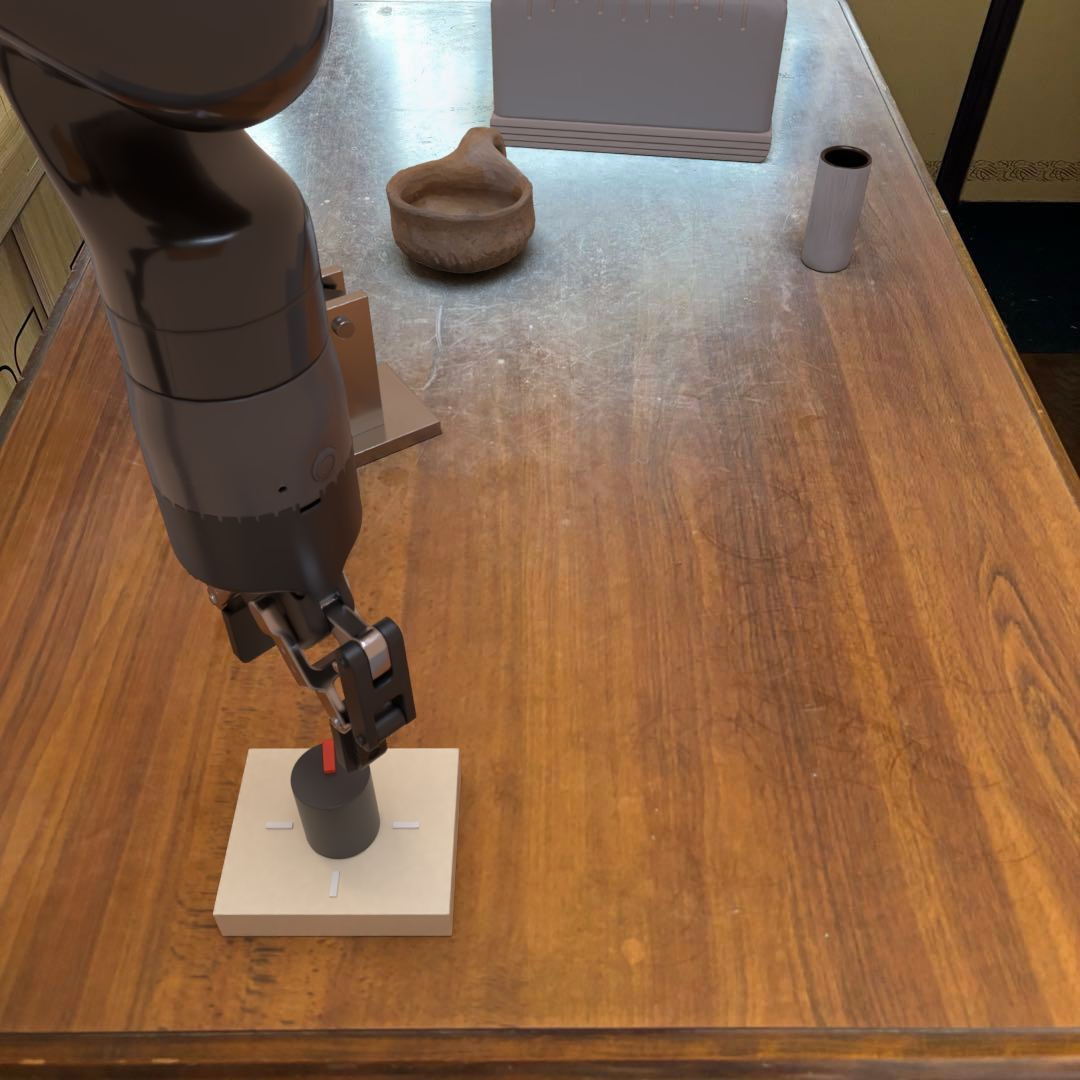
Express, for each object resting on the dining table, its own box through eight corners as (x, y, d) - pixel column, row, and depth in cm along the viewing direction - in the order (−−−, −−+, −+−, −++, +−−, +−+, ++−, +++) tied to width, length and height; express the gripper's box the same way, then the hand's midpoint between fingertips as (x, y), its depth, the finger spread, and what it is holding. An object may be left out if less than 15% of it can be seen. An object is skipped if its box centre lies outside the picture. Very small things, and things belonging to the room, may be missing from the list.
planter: (792, 262, 104) (811, 159, 97) (813, 242, 107) (833, 140, 99) (836, 278, 102) (859, 173, 95) (857, 257, 105) (881, 153, 97)
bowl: (386, 185, 112) (406, 91, 105) (520, 221, 114) (547, 131, 108) (366, 280, 99) (387, 179, 92) (517, 317, 102) (548, 222, 95)
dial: (383, 852, 58) (372, 798, 54) (306, 865, 58) (290, 811, 54) (377, 788, 61) (366, 732, 57) (304, 799, 60) (288, 743, 57)
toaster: (768, 35, 143) (790, -122, 130) (768, 163, 118) (795, -15, 105) (537, 23, 146) (537, -131, 133) (490, 145, 121) (484, -30, 108)
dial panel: (222, 936, 57) (211, 913, 56) (256, 772, 65) (248, 746, 63) (452, 936, 58) (449, 912, 56) (461, 772, 65) (459, 746, 63)
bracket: (300, 490, 82) (270, 347, 73) (252, 425, 87) (219, 284, 78) (441, 433, 86) (429, 292, 77) (388, 375, 92) (371, 236, 83)
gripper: (63, 396, 43) (160, 658, 54) (273, 597, 35) (333, 850, 47) (230, 321, 46) (288, 582, 58) (451, 489, 39) (466, 749, 51)
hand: (308, 702), depth 52 cm, fingers open, 8 cm apart
